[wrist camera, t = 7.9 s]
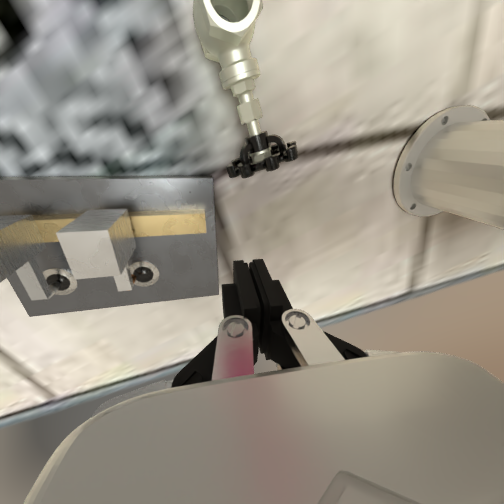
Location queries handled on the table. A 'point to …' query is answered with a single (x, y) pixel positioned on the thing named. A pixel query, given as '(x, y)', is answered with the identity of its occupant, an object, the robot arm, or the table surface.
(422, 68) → the table surface
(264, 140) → the valve
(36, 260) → the bolt plate
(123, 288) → the block
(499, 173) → the robot arm
